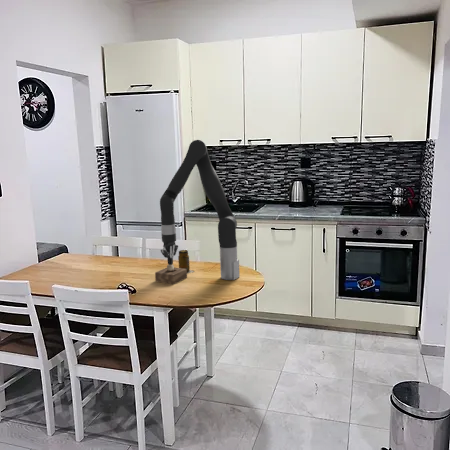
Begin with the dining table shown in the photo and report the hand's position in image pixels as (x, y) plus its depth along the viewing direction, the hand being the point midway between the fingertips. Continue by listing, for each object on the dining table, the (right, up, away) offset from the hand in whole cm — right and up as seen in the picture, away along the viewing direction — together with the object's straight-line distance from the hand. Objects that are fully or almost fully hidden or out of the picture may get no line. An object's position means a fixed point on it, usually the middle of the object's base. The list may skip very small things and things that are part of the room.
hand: (170, 264), depth 229 cm
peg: (0, -8, +1) cm, 9 cm away
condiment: (+6, -6, +16) cm, 18 cm away
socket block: (0, -8, +2) cm, 9 cm away
